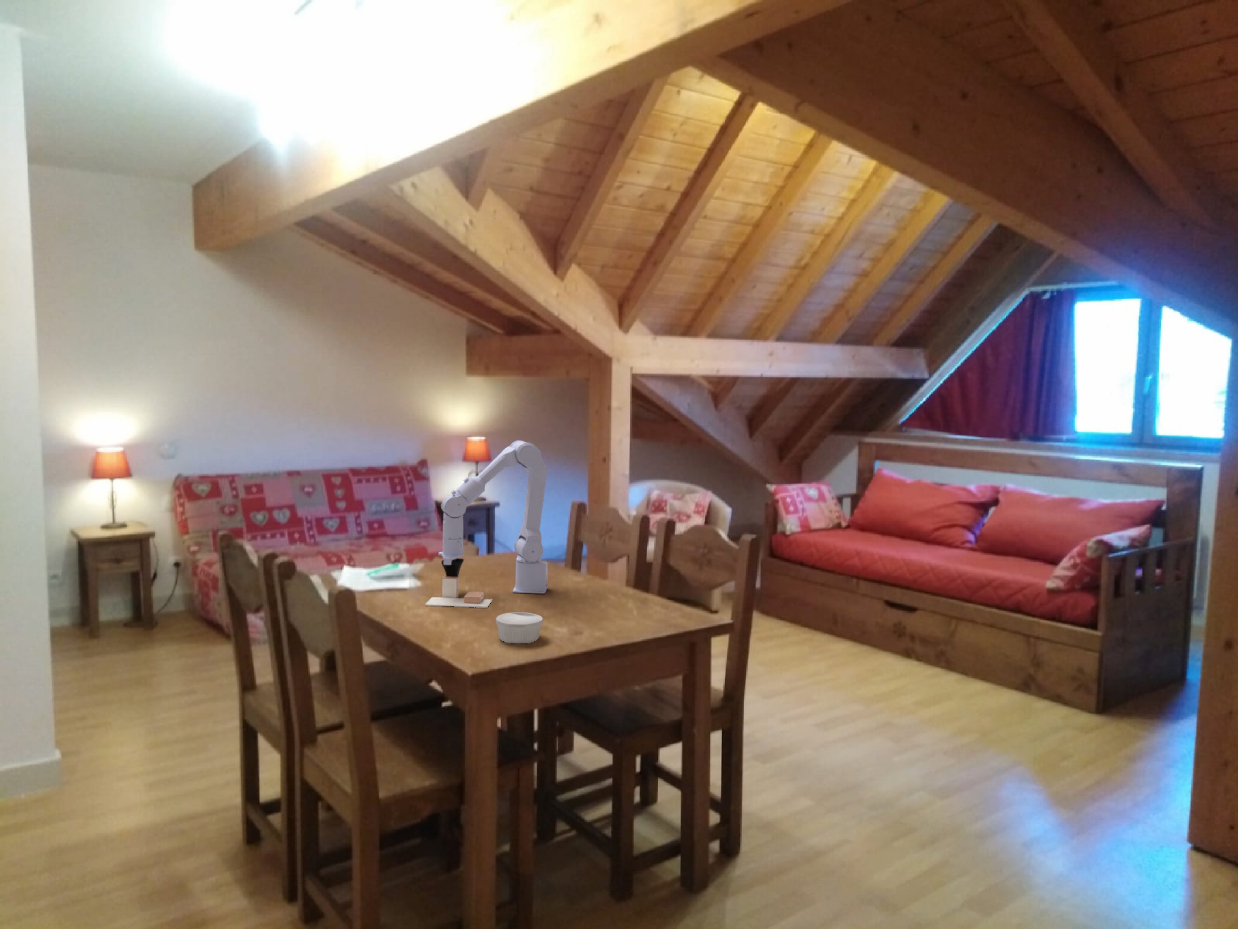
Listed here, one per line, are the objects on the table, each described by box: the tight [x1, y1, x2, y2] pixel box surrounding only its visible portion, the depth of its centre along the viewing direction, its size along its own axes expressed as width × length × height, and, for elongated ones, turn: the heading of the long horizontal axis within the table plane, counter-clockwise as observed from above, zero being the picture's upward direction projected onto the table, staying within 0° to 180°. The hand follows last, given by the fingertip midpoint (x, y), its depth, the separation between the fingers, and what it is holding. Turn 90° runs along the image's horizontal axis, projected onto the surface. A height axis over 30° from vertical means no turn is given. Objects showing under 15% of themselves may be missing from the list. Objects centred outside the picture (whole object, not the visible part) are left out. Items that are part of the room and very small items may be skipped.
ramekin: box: [495, 611, 544, 644], centre depth 214 cm, size 11×11×5 cm
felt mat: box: [424, 596, 493, 609], centre depth 245 cm, size 17×8×1 cm, turn 89°
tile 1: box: [440, 575, 460, 598], centre depth 250 cm, size 4×2×6 cm, turn 89°
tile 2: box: [463, 591, 485, 603], centre depth 247 cm, size 4×2×6 cm
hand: (452, 584), depth 253 cm, fingers closed
